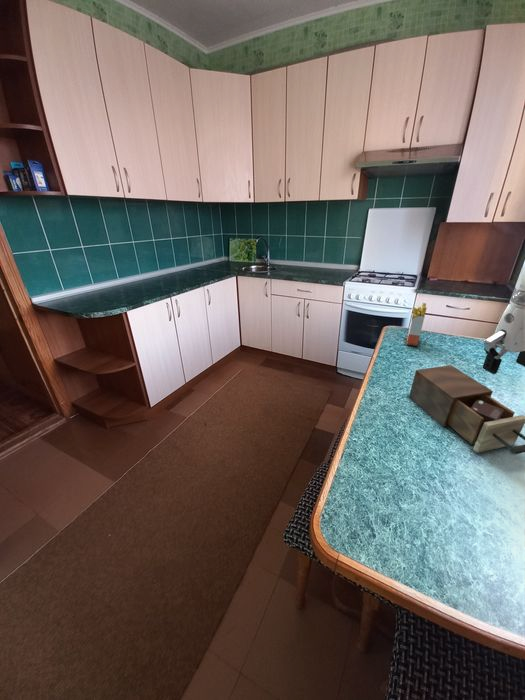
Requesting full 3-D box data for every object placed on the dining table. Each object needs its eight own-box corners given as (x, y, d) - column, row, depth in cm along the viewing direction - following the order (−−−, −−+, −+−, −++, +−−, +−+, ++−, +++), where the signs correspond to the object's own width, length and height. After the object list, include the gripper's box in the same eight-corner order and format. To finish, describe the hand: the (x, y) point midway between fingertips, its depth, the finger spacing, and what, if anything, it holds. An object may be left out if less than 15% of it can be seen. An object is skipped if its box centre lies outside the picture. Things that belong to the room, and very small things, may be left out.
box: (487, 442, 73) (497, 420, 70) (460, 430, 78) (469, 408, 74) (495, 431, 77) (505, 409, 73) (469, 420, 81) (477, 398, 78)
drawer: (538, 462, 69) (554, 435, 65) (499, 472, 67) (513, 444, 63) (469, 411, 86) (479, 387, 82) (436, 417, 84) (444, 392, 80)
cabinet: (480, 421, 83) (493, 391, 79) (442, 428, 81) (453, 397, 76) (441, 392, 96) (450, 364, 91) (408, 398, 94) (415, 369, 89)
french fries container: (404, 347, 126) (413, 307, 117) (406, 337, 134) (414, 300, 126) (416, 349, 124) (426, 309, 116) (417, 339, 132) (426, 301, 124)
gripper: (518, 308, 56) (490, 382, 64) (587, 299, 59) (552, 370, 67) (484, 297, 63) (462, 365, 71) (547, 289, 66) (520, 355, 74)
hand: (506, 368), depth 69 cm, fingers open, 9 cm apart
